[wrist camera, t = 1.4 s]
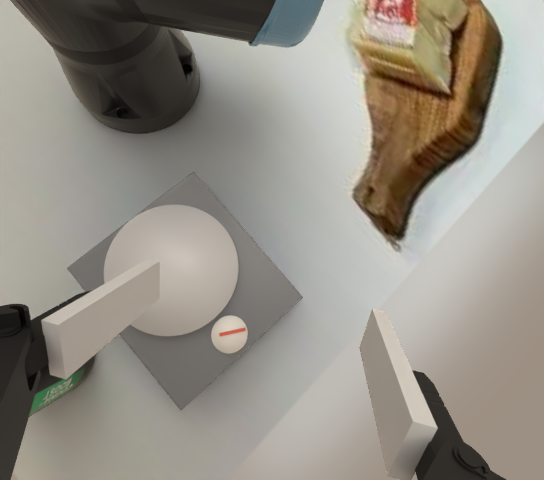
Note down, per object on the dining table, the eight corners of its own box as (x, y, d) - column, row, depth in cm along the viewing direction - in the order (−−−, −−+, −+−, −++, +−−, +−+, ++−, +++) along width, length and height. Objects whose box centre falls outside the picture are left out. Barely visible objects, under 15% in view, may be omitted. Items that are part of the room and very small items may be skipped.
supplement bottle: (107, 366, 28) (0, 432, 16) (49, 405, 27) (-110, 505, 15) (77, 314, 29) (-48, 340, 17) (18, 350, 28) (-158, 405, 16)
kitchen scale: (92, 269, 29) (59, 267, 24) (201, 184, 32) (191, 167, 27) (190, 391, 28) (177, 415, 23) (296, 294, 31) (304, 298, 26)
